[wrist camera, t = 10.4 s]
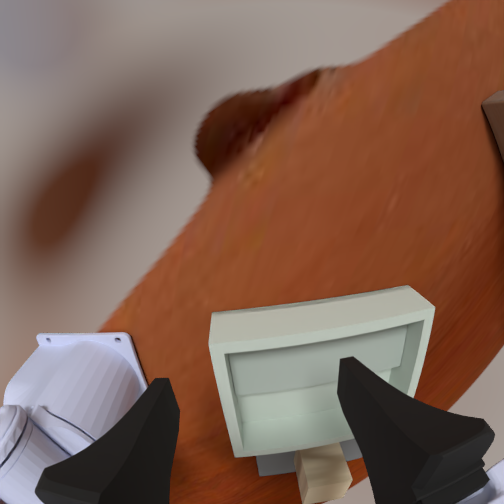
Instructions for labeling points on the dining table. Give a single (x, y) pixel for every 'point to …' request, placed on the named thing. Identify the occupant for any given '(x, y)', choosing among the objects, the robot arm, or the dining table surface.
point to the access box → (311, 363)
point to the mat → (285, 460)
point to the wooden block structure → (496, 117)
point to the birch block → (322, 473)
